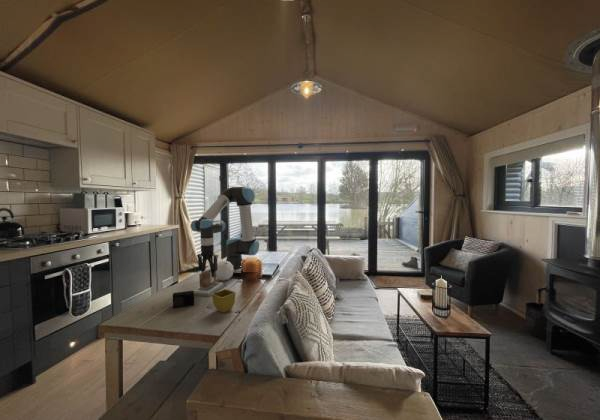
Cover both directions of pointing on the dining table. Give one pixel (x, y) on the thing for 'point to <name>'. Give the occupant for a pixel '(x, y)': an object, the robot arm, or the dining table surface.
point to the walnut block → (206, 279)
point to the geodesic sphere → (224, 270)
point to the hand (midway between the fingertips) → (208, 281)
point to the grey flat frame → (209, 289)
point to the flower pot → (223, 300)
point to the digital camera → (183, 299)
